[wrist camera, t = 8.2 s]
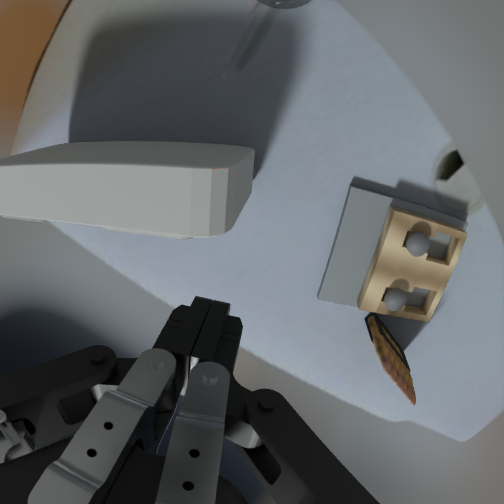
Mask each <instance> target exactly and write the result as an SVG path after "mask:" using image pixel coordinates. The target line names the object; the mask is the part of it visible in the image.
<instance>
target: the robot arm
mask: <svg viewBox="0 0 504 504" xmlns="http://www.w3.org/2000/svg"><path fill="white" fill-rule="evenodd" d="M258 1H260V2H261V3H263V4H266V5H268V6H271V7H275V8H285V9H286V8H295V7H299V6H302V5H304V4H306V3H308V2H309V1H311V0H258ZM229 311H230V303H225V302H221V301H216V300H212V299H207V298H203V297H198V296H196V297H195V298H194V300H193V302H192V304H191V306H186V305H180V306H179V307H177V308H176V309H174V310H173V311H172V313H171V315H170V317H169V320H167V322H166V324H165V326H164V328H163V329H162V331H161V333H160V335H159V337H158V338H157V340H156V342H155V344H154V346H153V348H152V349H149V350H146V351H144V352H143V353H141V355H140V356H139V357H138V358H116V354H115V352H114V351H113V350H112V349H110V348H109V347H107V346H103V345H95V346H90V347H88V348H85V349H82V350H79V351H76V352H73V353H70V354H67V355H65V356H61V357H58V358H55V359H52V360H50V361H46V362H43V363H40V364H38V365H34V366H31V367H28V368H25V369H22V370H19V371H16V372H13V373H9V374H6V375H3V376H0V504H248V502H247V501H246V499H245V497H244V496H243V494H242V493H241V492H240V491H239V489H238V488H237V487H236V486H235V485H234V484H232V483H231V482H230V481H229V480H227V479H226V478H224V477H223V476H221V475H219V467H220V459H221V451H222V443H223V437H225V438H227V439H229V440H231V441H233V442H235V443H236V447H237V449H238V450H239V452H240V453H241V455H242V456H243V458H244V459H245V461H246V462H247V463H248V465H249V466H250V468H251V469H252V471H253V472H254V473H255V475H256V476H257V478H258V479H259V480H260V482H261V483H262V485H263V486H264V487H265V489H266V490H267V491H268V492H269V494H270V495H271V497H272V498H273V499H274V501H275V502H276V503H277V504H380V503H379V502H378V501H377V500H376V499H375V498H374V497H373V496H372V495H371V494H370V493H369V492H368V491H367V490H366V489H365V488H364V487H363V486H362V485H361V484H360V483H359V482H358V481H357V480H356V478H355V477H354V476H353V475H352V474H351V473H350V472H349V471H348V470H347V469H346V468H345V467H344V466H343V465H342V463H340V461H339V460H338V459H337V458H336V457H335V456H334V455H333V454H332V452H331V451H330V450H329V449H328V448H327V447H326V446H325V445H324V444H323V442H322V441H321V440H320V439H319V438H318V437H317V436H316V435H315V433H314V432H313V431H312V430H311V429H310V427H309V426H308V425H307V424H306V423H305V422H304V420H303V419H302V418H301V417H300V416H299V415H298V413H297V412H296V411H295V410H294V409H293V407H292V406H291V405H290V404H289V403H288V402H287V400H286V399H285V398H284V397H283V396H282V395H281V394H280V393H278V392H276V391H274V390H270V389H259V390H255V391H253V392H252V391H250V390H248V389H246V388H244V387H242V386H241V385H240V384H239V383H238V382H237V381H236V380H235V378H234V376H233V371H234V366H235V362H236V358H237V354H238V349H239V344H240V339H241V334H242V329H243V325H242V322H241V319H240V318H239V317H234V316H230V315H229ZM85 389H86V390H85ZM83 390H84V391H83ZM80 391H81V392H80ZM75 393H76V394H75ZM72 394H73V395H72ZM69 395H70V396H69ZM180 395H184V399H183V403H182V407H181V411H180V414H179V415H177V417H176V420H175V424H174V428H173V432H172V436H171V440H170V444H169V448H168V452H167V456H159V455H157V450H158V446H159V444H160V441H161V439H162V437H163V435H164V433H165V431H166V429H167V427H168V425H169V423H170V420H171V419H172V416H173V414H174V412H175V410H176V404H177V401H178V399H179V396H180ZM67 396H68V397H67ZM64 397H65V398H64ZM76 431H77V433H76V434H75V436H72V437H68V438H65V439H63V440H60V441H58V442H55V443H53V444H51V445H48V446H46V447H43V448H41V449H38V450H36V451H34V450H35V447H36V446H39V445H42V444H44V443H47V442H50V441H53V440H56V439H58V438H61V437H63V436H66V435H69V434H71V433H74V432H76Z"/></svg>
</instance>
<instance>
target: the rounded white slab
mask: <svg viewBox="0 0 504 504" xmlns="http://www.w3.org/2000/svg"><path fill="white" fill-rule="evenodd" d="M254 158H255V149H253V148H251V147H246V146H238V145H226V144H212V143H194V142H169V141H94V142H73V143H64V144H59V145H54V146H49V147H45V148H41V149H37V150H33V151H29V152H25V153H21V154H17V155H14V156H10V157H7V158H3V159H0V215H1V217H3V218H12V219H21V220H29V221H37V222H45V221H48V220H50V221H59V222H68V223H76V224H85V225H94V226H102V229H104V230H111V231H119V232H127V233H135V234H143V235H151V236H159V237H167V238H175V239H190V238H193V237H213V236H219V235H223V234H225V233H226V232H228V231H229V230H231V229H232V227H233V225H234V224H235V222H236V220H237V218H238V216H239V214H240V212H241V211H242V209H243V207H244V205H245V203H246V201H247V200H248V198H249V196H250V194H251V191H252V180H253V169H254Z"/></svg>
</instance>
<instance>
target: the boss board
mask: <svg viewBox="0 0 504 504" xmlns="http://www.w3.org/2000/svg"><path fill="white" fill-rule="evenodd" d="M390 206H391V207H394V208H398V209H401V210H405V211H408V212H411V213H415V214H418V215H421V216H424V217H428V218H431V219H434V220H437V221H440V222H443V223H446V224H449V225H452V226H455V227H458V228H461V229H462V230H464V231H465V230H466V227H467V225H468V223H467V222H466V221H465V220H462V219H459V218H457V217H454V216H451V215H448V214H445V213H442V212H439V211H436V210H433V209H430V208H427V207H424V206H421V205H417V204H414V203H411V202H408V201H405V200H401V199H398V198H395V197H391V196H388V195H384V194H381V193H377V192H374V191H370V190H367V189H363V188H359V187H356V186H352V185H350V186H349V189H348V193H347V197H346V201H345V204H344V208H343V212H342V215H341V219H340V222H339V226H338V229H337V233H336V236H335V239H334V243H333V246H332V249H331V253H330V256H329V259H328V263H327V266H326V269H325V272H324V275H323V278H322V282H321V285H320V288H319V291H318V294H317V297H318V299H319V300H324V301H329V302H334V303H339V304H344V305H349V306H355V307H358V305H357V299H358V297H359V294H360V292H361V289H362V287H363V284H364V281H365V279H366V276H367V273H368V271H369V268H370V265H371V262H372V259H373V257H374V254H375V251H376V248H377V245H378V242H379V239H380V236H381V233H382V230H383V227H384V224H385V221H386V218H387V214H388V211H389V208H390ZM451 238H452V236H449V235H446V234H443V233H440V232H436V233H435V236H434V238H432V237H429V236H426V235H425V234H424V233H422V232H411V231H407V234H406V237H405V239H404V243H406V248H407V250H408V252H409V253H410V254H411V255H412V256H414V257H420V256H422V255H424V254H425V253H426V252H427V253H428V255H427V256H431V257H435V258H439V259H442V260H443V259H444V256H445V254H446V251H447V249H448V246H449V244H450V241H451ZM429 292H430V290H427V289H423V288H418V287H414V289H413V291H412V292H408V291H403V290H401V289H399V288H389V287H386V289H385V292H384V294H383V295H385V297H384V303H385V305H386V307H387V309H389V310H391V311H397V310H400V309H401V308H403V307H404V305H409V306H414V307H419V308H422V307H423V304H424V302H425V300H426V298H427V296H428V294H429Z"/></svg>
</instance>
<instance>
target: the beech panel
mask: <svg viewBox="0 0 504 504" xmlns="http://www.w3.org/2000/svg"><path fill="white" fill-rule="evenodd" d="M407 231H411V232H422V233H424V234H425V235H426V236H429V237H432V238H434V236H435V233H436V232H440V233H443V234H446V235H449V236H452V238H451V241H450V244H449V246H448V249H447V251H446V254H445V256H444V259H443V260H442V259H439V258H435V257H431V256H427V255H428V253H427V252H426V253H425V254H424V255H422V256H420V257H414V256H412V255H411V254H410V253H409V252H408V250H407V248H406V243H404V239H405V237H406V234H407ZM466 237H467V233H466V232H465V231H464V230H462V229H461V228H458V227H455V226H452V225H449V224H446V223H443V222H440V221H437V220H434V219H431V218H428V217H424V216H421V215H418V214H415V213H411V212H408V211H405V210H401V209H398V208H394V207H391V206H390V208H389V211H388V214H387V218H386V221H385V224H384V227H383V230H382V233H381V236H380V239H379V242H378V245H377V248H376V251H375V254H374V257H373V259H372V262H371V265H370V268H369V271H368V273H367V276H366V279H365V281H364V284H363V287H362V289H361V292H360V294H359V297H358V299H357V305H358V308H359V310H364V311H369V312H374V313H380V314H385V315H391V316H396V317H402V318H408V319H413V320H419V321H425V322H429V320H430V318H431V316H432V314H433V312H434V310H435V308H436V306H437V304H438V302H439V300H440V298H441V296H442V294H443V292H444V290H445V287H446V285H447V283H448V281H449V278H450V276H451V274H452V272H453V269H454V267H455V265H456V262H457V260H458V257H459V255H460V252H461V250H462V247H463V245H464V242H465V239H466ZM386 287H389V288H399V289H401V290H403V291H408V292H412V291H413V289H414V287H418V288H423V289H427V290H430V292H429V294H428V296H427V298H426V300H425V302H424V304H423V307H422V308H419V307H414V306H409V305H404V307H403V308H401V309H400V310H397V311H391V310H389V309H387V307H386V305H385V303H384V297H385V295H383V294H384V292H385V289H386Z"/></svg>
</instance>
